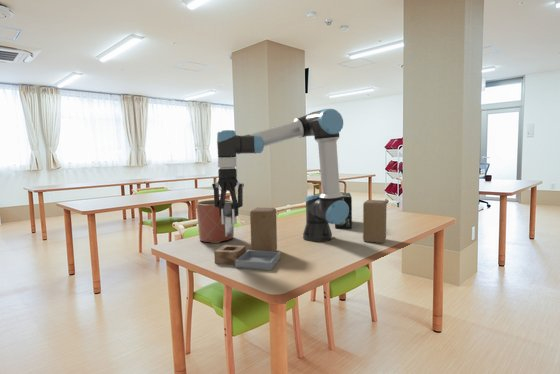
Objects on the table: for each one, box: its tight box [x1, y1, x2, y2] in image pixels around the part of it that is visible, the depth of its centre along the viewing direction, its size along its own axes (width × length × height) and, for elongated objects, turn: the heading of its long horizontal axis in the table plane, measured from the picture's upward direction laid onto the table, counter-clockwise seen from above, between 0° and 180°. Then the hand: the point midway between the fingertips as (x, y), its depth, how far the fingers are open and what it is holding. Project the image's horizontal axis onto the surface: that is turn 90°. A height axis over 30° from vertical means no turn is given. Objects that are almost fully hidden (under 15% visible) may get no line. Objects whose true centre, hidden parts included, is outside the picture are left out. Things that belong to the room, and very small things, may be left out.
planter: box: [196, 199, 234, 244], centre depth 175 cm, size 19×19×20 cm
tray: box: [234, 249, 281, 271], centre depth 136 cm, size 15×15×3 cm
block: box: [362, 199, 387, 244], centre depth 167 cm, size 10×10×20 cm
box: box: [334, 192, 353, 229], centre depth 205 cm, size 23×10×19 cm, turn 171°
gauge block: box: [213, 244, 247, 265], centre depth 141 cm, size 10×10×5 cm
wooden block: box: [249, 207, 278, 252], centre depth 150 cm, size 10×10×20 cm
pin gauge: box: [223, 202, 235, 237], centre depth 140 cm, size 4×4×14 cm
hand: (229, 223), depth 140 cm, fingers closed on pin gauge, 4 cm apart
